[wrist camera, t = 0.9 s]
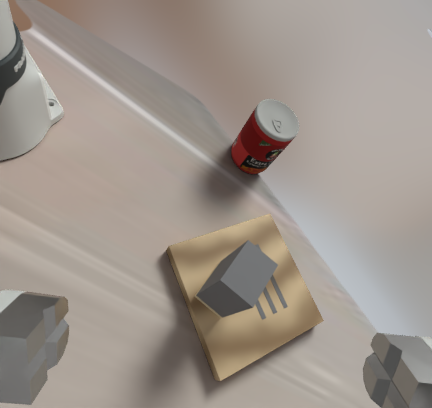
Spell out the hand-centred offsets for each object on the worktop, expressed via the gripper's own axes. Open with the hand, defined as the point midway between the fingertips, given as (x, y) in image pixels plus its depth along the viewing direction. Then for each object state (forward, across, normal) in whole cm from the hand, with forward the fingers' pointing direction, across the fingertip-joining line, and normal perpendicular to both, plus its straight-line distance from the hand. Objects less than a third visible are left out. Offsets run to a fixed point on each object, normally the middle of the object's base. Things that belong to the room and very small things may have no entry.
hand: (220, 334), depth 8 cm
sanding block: (+30, -2, +18) cm, 35 cm away
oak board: (+33, -6, +19) cm, 39 cm away
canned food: (+51, -6, +3) cm, 51 cm away
